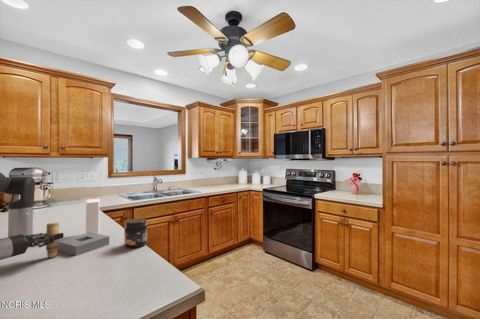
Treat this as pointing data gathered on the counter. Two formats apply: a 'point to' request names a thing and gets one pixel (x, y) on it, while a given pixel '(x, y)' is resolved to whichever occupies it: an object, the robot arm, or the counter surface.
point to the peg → (52, 248)
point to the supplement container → (135, 233)
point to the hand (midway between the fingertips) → (59, 234)
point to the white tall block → (92, 214)
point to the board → (83, 243)
